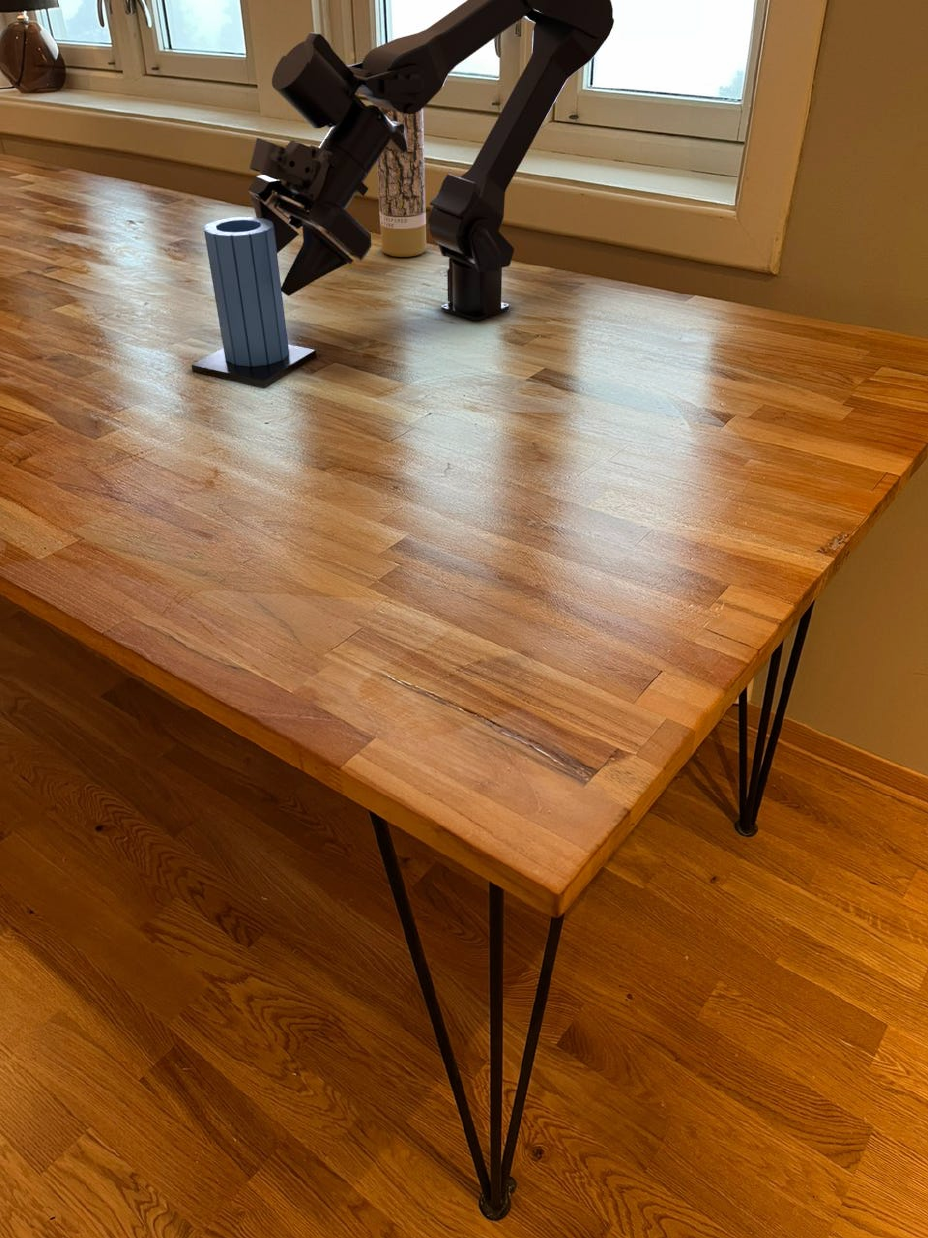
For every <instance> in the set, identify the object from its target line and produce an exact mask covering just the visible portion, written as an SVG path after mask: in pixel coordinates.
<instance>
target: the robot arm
mask: <svg viewBox="0 0 928 1238" xmlns="http://www.w3.org/2000/svg"><path fill="white" fill-rule="evenodd" d="M613 15H614V8H613V4H612V0H466V1H464V2H463V3H462V4H460V5H458V6H457V7H455V9H453V10H452V11H450V12H449V13H447V14H446V15H445V16H443V17H442V18H440V19H439V20H438V21H436V22H435V23H433V24H432V25H431V26H429V27H427V28H426V29H424V30H421V31H419V32H416V33H413V34H409V35H405V36H402V37H397V38H395V39H392V40H391V41H388V42H385V43H383V44H381V45H379V46H377V47H374V48H372V49H371V50H370V51H368V52H367V53H366V55H365V56H364V58H363V59H362V61H360V62H357V63H353V64H349V65H347V64H346V63H345V62H344V61H343V60H342V59H341V58H340V56H339V55H338V54H337V53H336V52H335V50H333V48H332V46H331V44H330V43H329V41H328V40H327V39H326V38H325V37H324V36H323V35H322V34H321V33H317V32H313V31H310V32H309V33H308V34H307V36H306V38H305V39H304V40H303V41H301V42H299V43H297V45H295V46H293V48H292V49H290V51H289V52H287V54H286V55H283V56H281V58H280V59H279V61H278V62H277V64H276V66H275V68H274V71H273V73H272V78H271V86H272V88H273V89H274V90H275V91H276V92H277V93H278V94H279V95H280V96H281V98H283V99H284V100H285V101H286V102H287V103H288V104H289V105H290V106H291V107H292V108H293V109H294V110H295V111H296V112H297V113H298V114H299V115H300V116H301V117H302V118H303V119H305V121H306V122H307V123H308V124H309V125H310V126H311V127H312V128H314V129H315V130H316V129H322V128H324V127H327V128H330V129H329V131H328V132H327V134H326V135H325V137H324V138H323V140H322V141H321V143H320V145H319V146H315V145H312V144H311V145H310V146H309V145H306V144H303V143H302V142H300V141H299V142H298V141H296V140H293V139H292V140H289V143H288V144H287V145H286V146H285V147H284V146H281V145H278V144H276V143H273V142H271V141H268V140H266V139H263V138H261V137H256V139H255V144H254V148H253V151H252V155H251V160H250V163H249V170H252V171H255V172H257V173H259V174H260V175H256V177H255V178H254V179H253V181H252V183H251V184H250V186H249V188H248V189H247V191H248V192H249V194H250V195H252V196H250V203H251V204H252V205H253V208H254V209H253V210H254V214H255V218H260V219H261V218H263V219H266V220H269V221H271V222H272V223H273V226H274V232H275V241H276V249H277V254H278V253H279V252H281V251H282V250H283V249H285V247H286V246H288V245H289V244H290V243H291V242H292V241H294V240H295V239H296V238H297V237H298V236H299V235H300V233H299V232H298V231H296V230H299V229H300V228H302V237H303V238H302V244H301V247H300V249H299V251H298V253H297V254H296V256H295V258H294V261H293V262H292V264H291V265H290V268H289V269H288V272H287V273H286V276H285V278H284V280H283V282H282V284H281V291H282V294H284V295H286V296H287V297H288V296H289V297H291V295H293V294H295V293H297V292H298V291H300V290H302V289H304V288H305V287H307V286H308V285H310V284H312V283H314V282H315V281H317V280H319V279H321V278H322V277H324V276H326V275H328V274H330V273H332V272H335V270H337V269H339V268H341V267H344V266H345V265H348V264H349V265H352V264H353V263H354V259H356V260H358V261H360V262H363V260H364V259H365V257H366V256H367V254H368V253H369V251H370V250H371V248H372V235H371V233H370V232H369V231H368V229H366V228H365V227H364V225H362V224H361V223H360V222H359V221H358V220H357V219H356V218H354V217H353V216H352V215H351V213H349V212H348V211H347V210H346V209H347V208H348V207H349V205H350V204H351V202H352V201H353V200H354V197H355V196H356V195H359V196H361V197H365V195H366V194H367V192H368V190H369V189H370V188H369V187H368V186H367V185H366V184H365V183H364V182H365V180H366V179H367V178H368V176H369V174H370V173H371V172H372V170H373V169H374V167H375V165H376V164H377V160H378V159H379V157H380V156H381V154H382V153H383V151H384V150H385V148H386V146H387V147H389V148H392V149H395V150H398V151H401V152H406V151H407V149H408V148H407V141H406V138H405V125H404V124H402V123H399V122H395V121H392V122H391V121H390V120H389V119H388V118H387V117H386V116H385V115H384V114H383V112H382V111H381V110H380V109H379V108H378V107H377V106H379V107H382V108H386V109H390V110H393V111H397V112H401V113H404V114H414V113H416V112H418V111H420V110H421V109H423V110H424V108H425V107H426V106H427V105H428V104H429V103H430V102H431V101H432V100H433V98H434V97H435V96H436V95H437V94H438V93H439V92H441V90H442V89H443V87H444V85H445V82H446V81H447V78H448V77H449V74H450V73H451V72H452V71H453V70H454V69H455V68H456V67H457V66H458V65H460V64H461V63H463V61H465V60H467V59H468V58H469V57H470V56H472V55H473V54H475V53H476V52H477V51H479V50H480V49H482V48H483V47H485V46H486V45H487V44H488V43H491V41H494V39H495V38H497V37H498V36H500V35H501V34H502V33H504V32H505V31H506V30H508V29H509V28H510V27H512V26H513V25H515V24H516V23H517V22H519V21H520V20H522V19H523V18H525V19H526V20H527V21H529V22H532V23H533V24H534V25H533V29H532V44H531V45H532V46H531V55H530V58H529V60H528V61H527V63H526V66H525V68H524V69H523V71H522V72H521V75H520V77H519V78H518V80H517V82H516V84H515V85H514V87H513V89H512V91H511V93H510V95H509V97H508V99H507V101H506V102H505V104H504V106H503V108H502V110H501V111H500V114H499V115H498V117H497V119H496V120H495V122H494V125H493V126H492V128H491V130H490V132H489V133H488V135H487V137H486V139H485V141H484V143H483V145H482V147H481V148H480V150H479V152H478V154H477V155H476V158H475V159H474V161H473V163H472V165H471V167H470V168H469V169H468V170H467V171H465V173H463V174H462V175H461V176H460V177H458V176H456V175H453V174H450V173H448V174H446V176H445V177H444V178H443V180H442V182H441V185H440V188H439V190H438V193H437V194H436V195H435V197H434V198H433V199H432V200H430V202H429V206H431V207H432V208H431V210H430V213H429V215H428V218H427V223H428V227H429V233H430V235H431V237H432V239H433V241H434V242H435V243H436V244H437V245H438V249H439V251H440V254H441V256H443V257H444V258H447V259H448V269H447V271H446V273H447V274H446V278H447V281H446V282H447V283H446V284H447V286H446V287H447V302H448V303H445V304H443V305H441V306H440V310H441V311H442V312H446V313H450V314H452V315H455V316H459V317H462V318H465V319H468V320H471V321H475V322H479V321H483V320H485V319H487V318H490V317H491V316H495V315H497V314H500V313H502V312H504V311H507V310H509V309H510V304H508V303H506V302H502V287H503V286H502V284H503V283H502V281H503V268H507V267H509V266H510V265H511V262H512V259H513V257H514V256H513V255H514V252H515V249H514V246H513V245H512V244H511V243H510V242H509V241H508V240H507V239H506V238H505V236H504V235H503V234H501V232H500V231H499V230H500V228H501V226H502V223H503V221H504V217H505V201H506V200H505V198H506V192H507V189H508V187H509V185H510V184H511V182H512V180H513V178H514V176H515V174H516V173H517V171H518V169H519V167H520V166H521V164H522V162H523V160H524V158H525V156H526V155H527V153H528V151H529V149H530V148H531V146H532V144H533V142H534V140H535V138H536V137H537V135H538V134H539V131H540V130H541V128H542V126H543V124H544V122H545V120H546V119H547V117H548V115H549V114H550V111H551V109H552V108H553V106H554V104H555V103H556V100H557V99H558V97H559V95H560V93H561V92H562V90H563V88H564V86H565V85H566V83H567V81H568V80H569V78H570V77H572V76H574V74H576V73H577V72H578V71H580V70H581V69H582V68H584V67H585V66H586V65H588V64H589V63H590V62H591V61H593V59H594V58H595V56H596V55H597V53H599V51H600V50H601V48H602V47H603V45H604V44H605V43H606V42H607V40H608V39H609V38H610V35H611V33H612V31H613V28H614V24H615V18H614V16H613ZM357 94H358V95H363V96H365V97H366V99H367V100H368V101H369V102H370V103H371V104H369V105H366V104H365V103H364V101H362V99H360V98H359V96H358V95H357ZM375 105H376V106H375ZM295 229H296V230H295ZM351 257H352V258H351ZM353 258H354V259H353Z"/></svg>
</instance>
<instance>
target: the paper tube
mask: <svg viewBox="0 0 928 1238" xmlns="http://www.w3.org/2000/svg"><path fill="white" fill-rule="evenodd" d="M375 106H376V105H375ZM377 107H378V108H379V109H380V110H381V111H382V112H383V114H384V115H385V116H386V117H387V118H388V119H389V120H390V121H391V122H392V121H395V122H399V123H402V124H404V125H405V138H406V141H407V148H408V149H407V151H406V152H401V151H398V150H395V149H392V148H389V147H387V146H386V148H385V150H384V151H383V153H382V154H381V156H380V157H379V159H378V160H377V162H376V172H377V173H376V174H377V175H376V176H377V191H378V210H379V225H380V242H381V245H380V246H381V250H382V252H383V253H384V254H386V255H388V256H391V257H396V258H406V257H407V258H408V257H409V258H410V257H416V256H419V255H422V254H423V253H424V252H425V251H426V249H427V212H426V209H427V208H426V207H427V206H426V176H425V175H426V173H425V171H426V169H425V167H426V166H425V137H424V136H425V135H424V128H425V127H424V108H423V109H421V110H420V111H418V112H416V113H414V114H404V113H401V112H397V111H393V110H390V109H386V108H382V107H379V106H377Z"/></svg>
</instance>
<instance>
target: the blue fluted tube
mask: <svg viewBox="0 0 928 1238" xmlns="http://www.w3.org/2000/svg"><path fill="white" fill-rule="evenodd" d="M203 232H204V233H203V234H204V238H205V246H206V251H207V257H208V263H209V268H210V275H211V276H210V277H211V281H212V288H213V293H214V299H215V305H216V312H217V317H218V322H219V329H220V335H221V341H222V347H223V348H224V354H225V359H226V360H227V361H228V362H230V363H232V364H236V365H240V366H249V367H250V366H251V365H252V367H253V366H263V365H267V364H272V363H275V362H278V361H281V360H283V359H284V358H285V357H287V356H288V355H289V347H288V344H289V341H288V340H289V339H288V333H287V331H288V330H287V323H286V316H285V307H284V306H285V305H284V298H283V292H282V291H281V287H282V282H281V276H280V275H281V274H280V266H279V258H278V253H277V249H276V241H275V232H274V226H273V223H272V222H271V221H269V220H266V219H263V218H261V219H260V218H256V217H252V216H238V217H237V216H236V217H229V218H221V219H218V220H214V221H210V222H209V223H207V224H205V225H203ZM223 348H222V349H223Z"/></svg>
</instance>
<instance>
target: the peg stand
mask: <svg viewBox="0 0 928 1238" xmlns="http://www.w3.org/2000/svg"><path fill="white" fill-rule="evenodd" d="M288 347H289V355H288V356H287V357H285V358H284V359H283V360H281V361H278V362H275V363H272V364H267V365H263V366H253V367H252V365H251V366H250V367H249V366H240V365H236V364H232V363H230V362H228V361H227V360H226V359H225V354H224V348H221V349H219V350H217V351H215V352H213V353H211V354H210V355H208V356H205V357H204V358H202V359H200V360H198V361H196V362H194V363H193V364H191V365H190V366H191V371H192V372H193V373H197V374H201V375H206V376H210V377H215V378H219V379H223V380H228V381H231V382H232V381H233V382H237V383H241V384H245V385H250V386H254V387H260V388H263V389H265V388H267V387H269V386H270V385H271V384H274V383H275V382H277V381H279V380H280V379H282V378H283V377H285V376H286V375H289V374H291V372H293V371H295V370H297V369H299V368H300V367H302V366H303V365H304V364H307V363H308V362H310V361H312V360H313V359H315V358H316V357H317V350H316V349H314V348H313V349H312V348H308V347H303V346H298V345H293V344H289V343H288Z"/></svg>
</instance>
